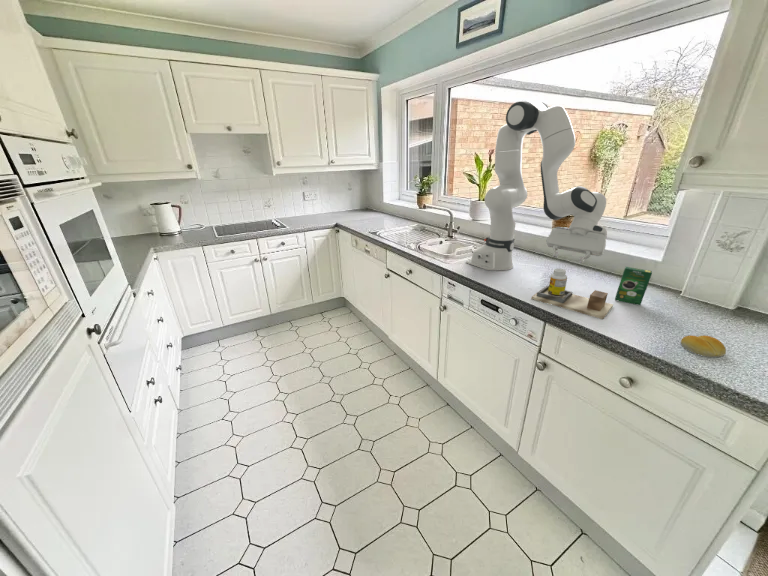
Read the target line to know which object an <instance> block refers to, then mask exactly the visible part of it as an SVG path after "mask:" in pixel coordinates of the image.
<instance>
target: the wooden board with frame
mask: <svg viewBox="0 0 768 576" xmlns="http://www.w3.org/2000/svg"><path fill="white" fill-rule="evenodd" d="M548 290H549V285H545V286H544V287H542V288H541V289H540V290H538V291H537V292H536V293H534V294H533V295H531V300H533V299H534V301H537V302H540V301H541V303H545V304H547V303H548V305H551V304H552V305H551V306H555V307H559V308H561V307H562V308H561V309H565V310H567V311H573V312H575V313H579V314H583V315H585V316H590V317H593V318H597V319H601V320H604V318H605V317H606V316H607V315H608V314H609V312H610V311H611V310H612V308H613V307H614V304H613V303H610V302H606V301H607V297H608V295H609V294H608V292H604V291H601V290H597V289H594V291H593V292H592V293H590V295H589V297H586V296H581V295H578V294H574V293H573V291H570V290H566V289H565V293H564V296H563V297H555V296H551V295H549V294H548Z"/></svg>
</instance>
